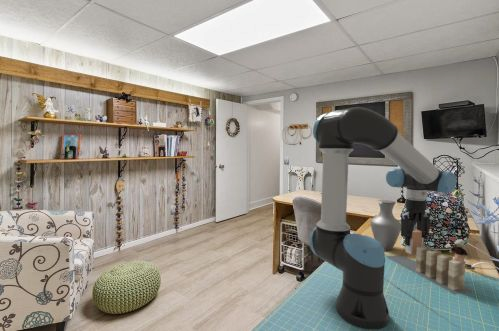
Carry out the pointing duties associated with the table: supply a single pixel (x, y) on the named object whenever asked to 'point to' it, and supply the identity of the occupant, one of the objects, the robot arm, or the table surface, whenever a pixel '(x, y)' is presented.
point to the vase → (386, 225)
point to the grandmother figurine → (459, 250)
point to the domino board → (412, 266)
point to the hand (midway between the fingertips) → (414, 252)
